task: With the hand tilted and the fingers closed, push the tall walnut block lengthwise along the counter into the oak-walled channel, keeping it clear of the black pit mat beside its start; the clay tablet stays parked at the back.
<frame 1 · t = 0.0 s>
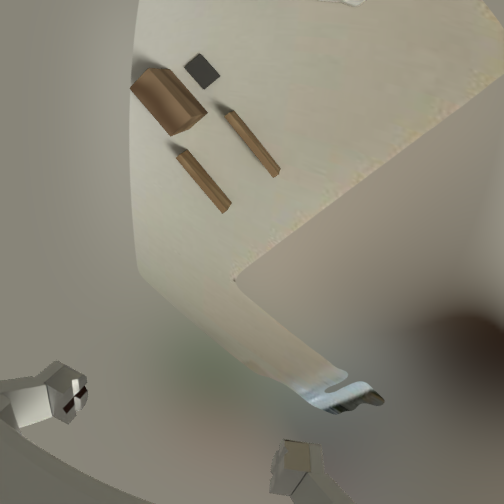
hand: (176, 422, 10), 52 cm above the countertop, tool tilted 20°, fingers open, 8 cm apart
channel: (230, 160, 57), on the countertop
walnut block: (179, 98, 52), on the countertop
pit mat: (202, 71, 49), on the countertop
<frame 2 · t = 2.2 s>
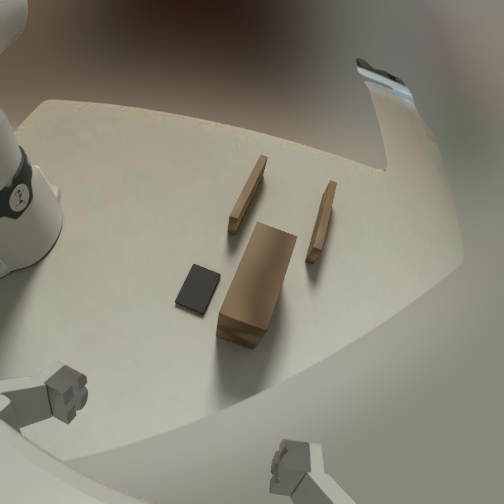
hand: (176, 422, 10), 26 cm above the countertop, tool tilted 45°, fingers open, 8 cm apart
channel: (282, 213, 49), on the countertop
walnut block: (250, 301, 41), on the countertop
pit mat: (198, 288, 40), on the countertop
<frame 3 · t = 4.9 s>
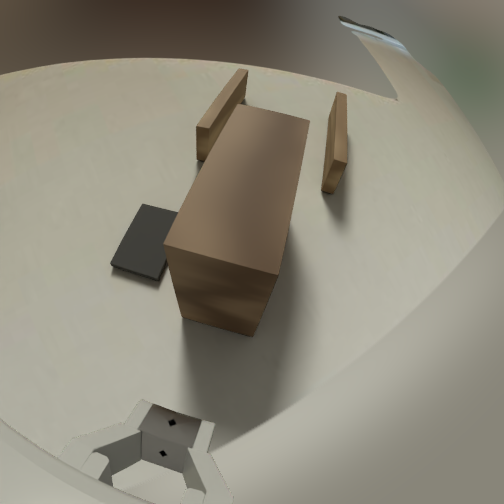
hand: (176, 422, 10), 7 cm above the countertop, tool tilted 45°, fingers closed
channel: (277, 134, 32), on the countertop
walnut block: (239, 254, 23), on the countertop
pit mat: (149, 240, 23), on the countertop
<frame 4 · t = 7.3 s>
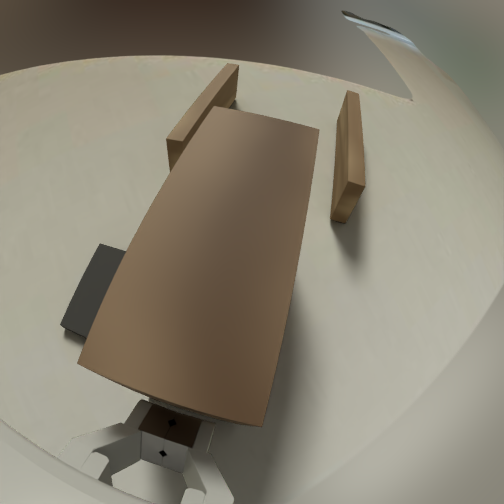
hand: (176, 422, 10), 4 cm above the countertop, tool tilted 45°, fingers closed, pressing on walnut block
channel: (274, 144, 26), on the countertop
walnut block: (222, 311, 17), on the countertop, touching gripper
pit mat: (107, 294, 17), on the countertop
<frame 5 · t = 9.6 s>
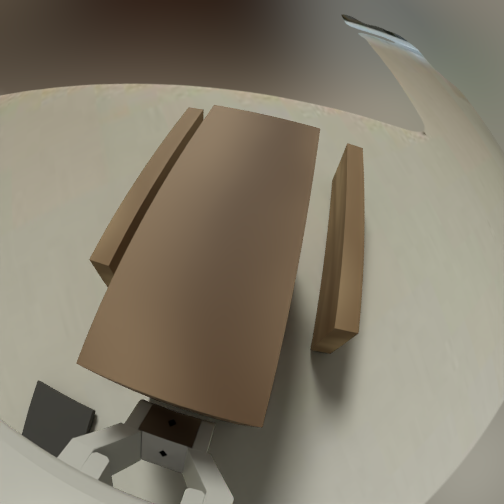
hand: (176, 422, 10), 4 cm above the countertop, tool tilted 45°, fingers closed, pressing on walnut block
channel: (246, 229, 21), on the countertop
walnut block: (222, 311, 17), on the countertop, touching gripper
pit mat: (53, 440, 12), on the countertop
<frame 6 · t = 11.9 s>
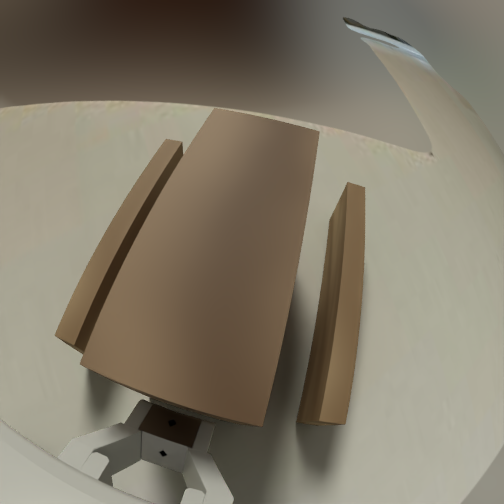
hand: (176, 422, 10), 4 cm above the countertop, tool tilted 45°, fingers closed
channel: (229, 284, 18), on the countertop
walnut block: (222, 312, 18), on the countertop
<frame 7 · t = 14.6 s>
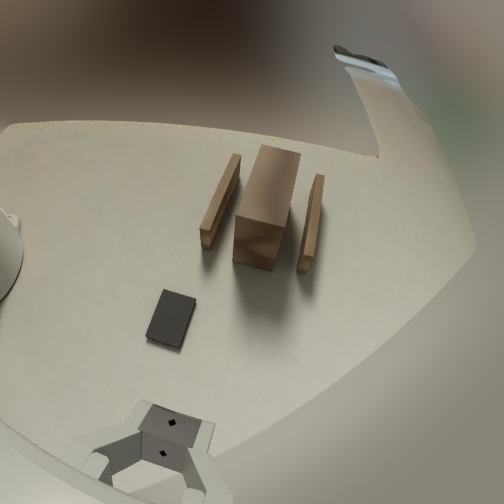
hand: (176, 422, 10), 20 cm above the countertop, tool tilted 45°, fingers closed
channel: (265, 217, 42), on the countertop
walnut block: (262, 228, 41), on the countertop
pit mat: (171, 318, 33), on the countertop
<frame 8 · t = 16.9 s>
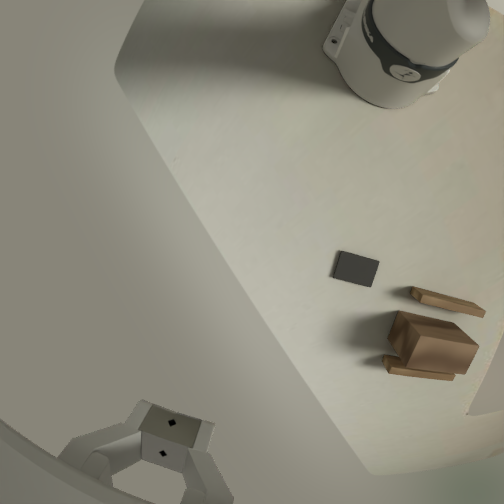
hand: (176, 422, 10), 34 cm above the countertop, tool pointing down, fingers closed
channel: (430, 332, 43), on the countertop
walnut block: (422, 330, 44), on the countertop
pit mat: (356, 269, 43), on the countertop
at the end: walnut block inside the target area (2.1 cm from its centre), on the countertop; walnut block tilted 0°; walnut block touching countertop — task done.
